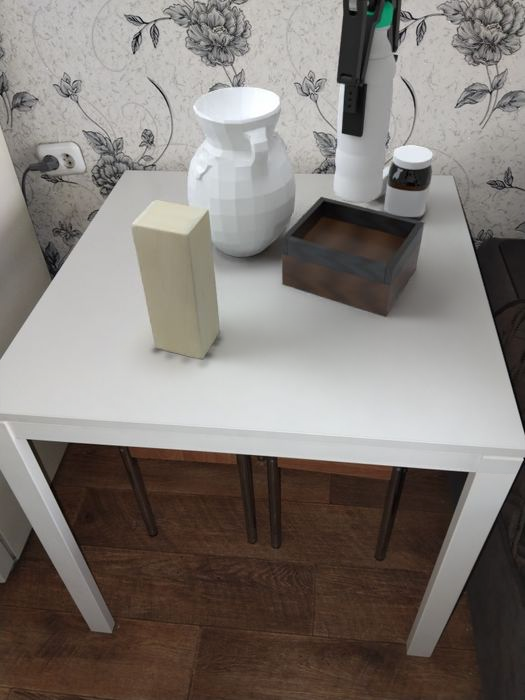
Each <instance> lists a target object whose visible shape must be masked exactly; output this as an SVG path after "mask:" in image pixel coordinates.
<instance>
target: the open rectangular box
mask: <svg viewBox="0 0 525 700" xmlns="http://www.w3.org/2000/svg"><path fill="white" fill-rule="evenodd" d="M424 228H425V222H424V221H420V220H418V219H417V220H413V219H409V218H405V217H401V216H397V215H393V214H389V213H385V211H381V210H378V209H377V210H376V209H373V208H369V207H365V206H360V205H356V204H354V203H350V202H346V201H341V200H336V199H333V198H329V197H324V196H320V197H319V198H318V200H316V201H315V202H314V204H313V205H311V207H309V209H308V210H306V211H305V213H304V214H303V215H302V216H301V217H300V218H299V219H298V220H297V221H296V222H295V223H294V224H293V226H292V227H290V228H289V229H288V230H287V232H285V234H284V235H283V236H282V237H281V275H282V276H281V277H282V278H281V280H282V282H281V283H282V285H284V286H287V287H291V288H293V289H297V290H300V291H303V292H306V293H310V294H312V295H315V296H317V297H322V298H325V299H328V300H331V301H334V302H338V303H339V304H344V305H347V306H350V307H353V308H356V309H359V310H363V311H366V312H369V313H372V314H375V315H378V316H380V317H384V318H385V317H387V315H388V314H389V312H390V311H391V310H392V307H393V306H394V304H395V303H396V301H397V300H398V299H399V297H400V295H401V293H402V292H403V290H404V289H405V287H406V285H407V284H408V283H409V281H410V280H411V278H412V276H413V275H414V273H415V271H416V270H417V265H418V260H419V255H420V249H421V244H422V238H423V232H424Z"/></svg>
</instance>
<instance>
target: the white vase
mask: <svg viewBox="0 0 525 700" xmlns="http://www.w3.org/2000/svg"><path fill="white" fill-rule="evenodd" d="M192 108H193V111H194V114H195V117H196V119H197V121H198V123H199V125H200V128H201V130H202V131H203V134H204V137H205V139H204V140H203V142H202V143H201V144H200V145H199V146H198V148H197V149H196V150H195V153H194V154H193V157H192V158H191V160H190V163H189V166H188V167H189V168H188V173H187V179H186V180H187V181H186V189H187V190H186V192H187V193H186V195H187V197H186V198H187V204H188V206H194V207H200V208H205V209H208V210H209V218H210V228H211V239H212V245H214V246H215V247H216V248H217V249H218V250H220V252H222V253H224V254H225V255H228V256H231V257H234V258H235V257H236V258H247V257H254V256H256V255H259V254H260V253H262V252H264V251H266V249H267V248H268V247H269V246H270V245H271V244H272V243H274V242H275V241H276V240H277V239H278V237H279V236H280V235H281V234H282V233H283V231H284V230H285V229H286V227H287V226H288V225H289V224H290V222H291V220H292V218H293V215H294V211H295V205H296V191H297V190H296V187H297V183H296V178H295V177H296V176H295V169H294V167H293V164H292V162H291V159H290V158H289V155H288V153H287V150H288V145H287V143H286V141H285V140H284V138H283V136H282V135H281V133H279V131H275V129H276V127H277V124H278V121H279V119H280V117H281V112H282V99H281V98H280V96H278V94H276V93H275V92H274V91H271V90H268V89H266V88H261V87H256V86H233V87H231V86H230V87H223V88H218V89H215V90H212V91H209V92H207V93H205V94H202V95H200V97H198V98H197V99H196V100H195V102H194V104H193V106H192Z"/></svg>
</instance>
